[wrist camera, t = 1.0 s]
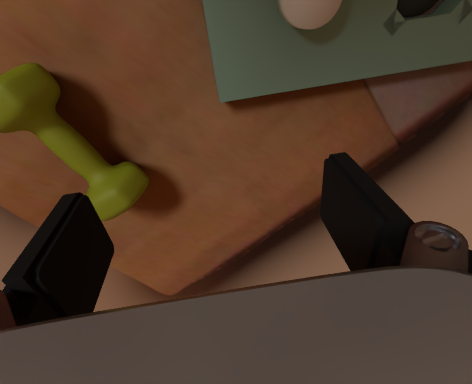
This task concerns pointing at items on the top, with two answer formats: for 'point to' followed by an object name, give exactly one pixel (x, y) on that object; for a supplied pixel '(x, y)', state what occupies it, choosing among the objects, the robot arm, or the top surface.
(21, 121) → the dumbbell
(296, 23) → the pink rounded pebble
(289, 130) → the top surface
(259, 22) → the board
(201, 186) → the top surface
